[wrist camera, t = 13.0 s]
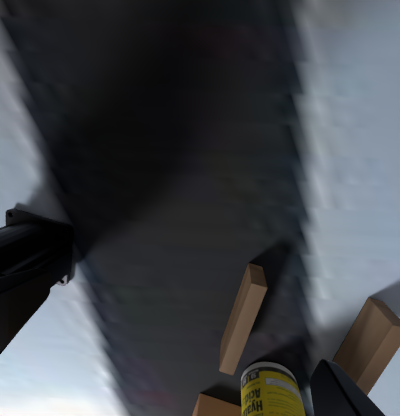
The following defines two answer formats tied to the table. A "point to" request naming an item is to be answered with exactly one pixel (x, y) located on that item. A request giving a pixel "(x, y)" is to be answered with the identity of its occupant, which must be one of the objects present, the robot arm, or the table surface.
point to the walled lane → (350, 349)
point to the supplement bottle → (270, 391)
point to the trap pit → (215, 407)
